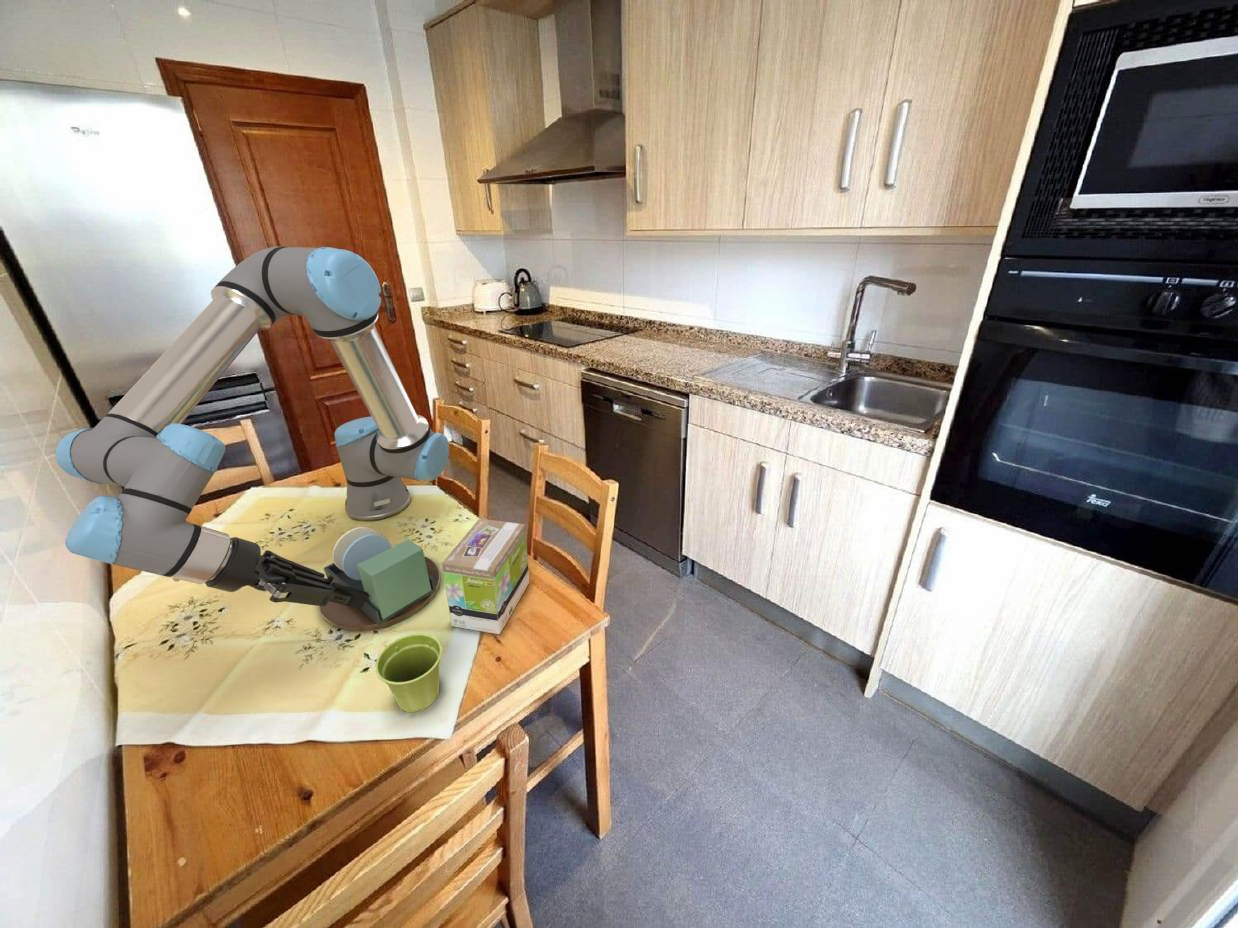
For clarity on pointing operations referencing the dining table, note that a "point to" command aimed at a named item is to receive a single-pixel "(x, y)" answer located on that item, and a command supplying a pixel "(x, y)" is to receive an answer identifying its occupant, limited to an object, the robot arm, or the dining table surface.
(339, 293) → the robot arm
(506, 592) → the tea box
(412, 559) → the dish rack
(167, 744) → the dining table surface
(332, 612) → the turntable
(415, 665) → the plant pot
